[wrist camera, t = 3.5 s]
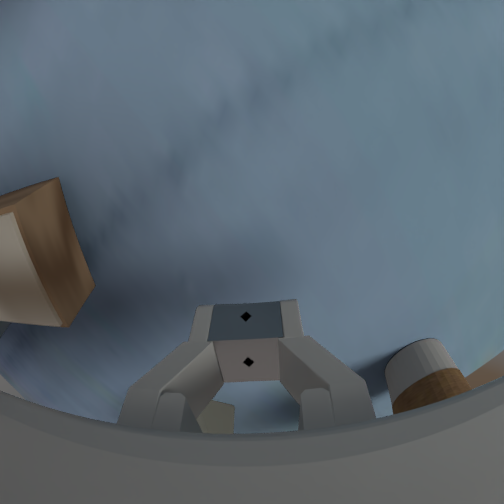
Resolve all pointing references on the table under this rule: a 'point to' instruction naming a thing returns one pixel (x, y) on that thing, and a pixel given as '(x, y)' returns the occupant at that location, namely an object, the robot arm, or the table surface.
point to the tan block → (40, 258)
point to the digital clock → (217, 418)
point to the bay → (3, 327)
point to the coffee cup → (423, 376)
